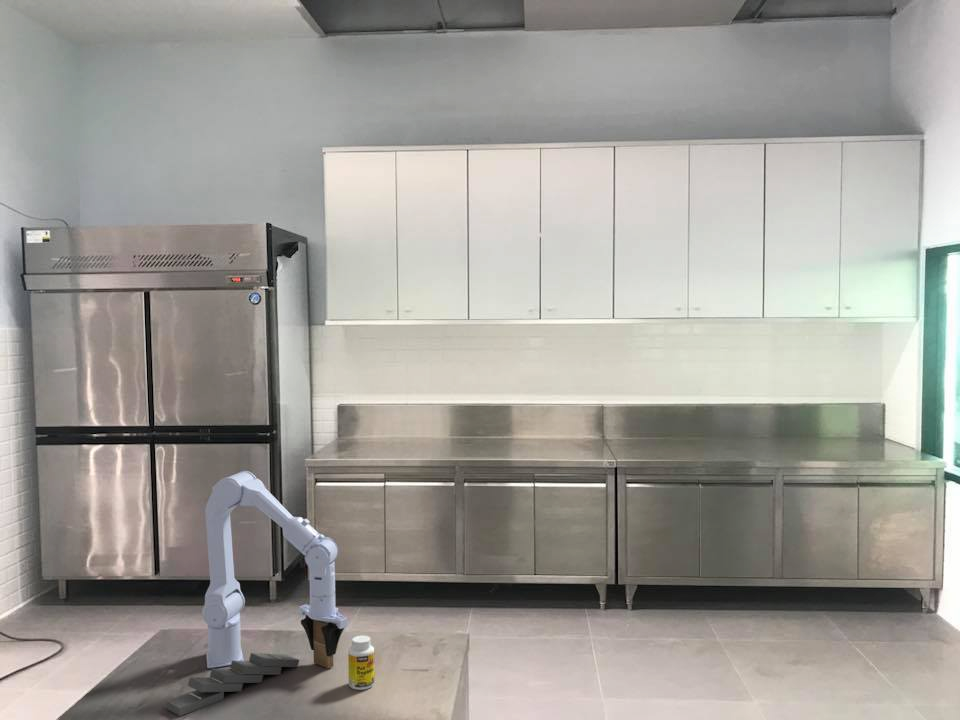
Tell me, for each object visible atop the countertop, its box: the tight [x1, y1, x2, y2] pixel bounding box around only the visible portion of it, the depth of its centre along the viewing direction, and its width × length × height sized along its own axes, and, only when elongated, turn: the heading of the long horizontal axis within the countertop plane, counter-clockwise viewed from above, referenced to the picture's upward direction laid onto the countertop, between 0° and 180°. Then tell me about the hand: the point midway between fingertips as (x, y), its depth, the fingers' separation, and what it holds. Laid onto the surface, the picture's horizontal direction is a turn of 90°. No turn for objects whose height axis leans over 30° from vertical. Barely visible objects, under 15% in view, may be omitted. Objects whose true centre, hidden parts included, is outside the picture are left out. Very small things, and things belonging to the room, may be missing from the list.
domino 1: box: [165, 689, 225, 717], centre depth 162 cm, size 2×5×10 cm
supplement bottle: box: [347, 635, 375, 691], centre depth 169 cm, size 6×6×10 cm
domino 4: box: [229, 660, 282, 676], centre depth 173 cm, size 2×5×10 cm
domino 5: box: [248, 652, 300, 668], centre depth 177 cm, size 2×5×10 cm
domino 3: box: [209, 668, 264, 684], centre depth 169 cm, size 2×5×10 cm
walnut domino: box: [313, 620, 334, 669], centre depth 179 cm, size 2×5×10 cm, turn 51°
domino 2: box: [187, 676, 244, 693], centre depth 165 cm, size 2×5×10 cm
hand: (323, 651), depth 180 cm, fingers closed on walnut domino, 5 cm apart
